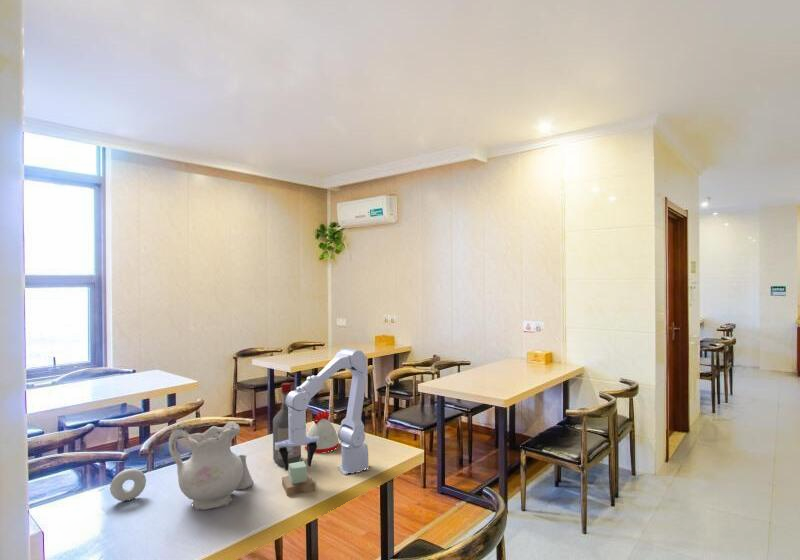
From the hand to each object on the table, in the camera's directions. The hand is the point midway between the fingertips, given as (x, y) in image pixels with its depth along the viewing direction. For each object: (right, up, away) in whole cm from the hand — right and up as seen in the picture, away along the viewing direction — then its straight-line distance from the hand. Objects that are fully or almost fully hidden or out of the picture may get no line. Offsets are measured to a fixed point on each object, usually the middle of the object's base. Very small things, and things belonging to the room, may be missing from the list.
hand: (297, 467), depth 155 cm
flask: (-20, -7, +2) cm, 21 cm away
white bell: (+2, -7, +37) cm, 38 cm away
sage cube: (0, -4, 0) cm, 4 cm away
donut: (-53, -8, -8) cm, 54 cm away
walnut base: (0, -7, 0) cm, 7 cm away
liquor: (-9, -7, +22) cm, 25 cm away
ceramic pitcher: (-27, -7, -9) cm, 29 cm away
